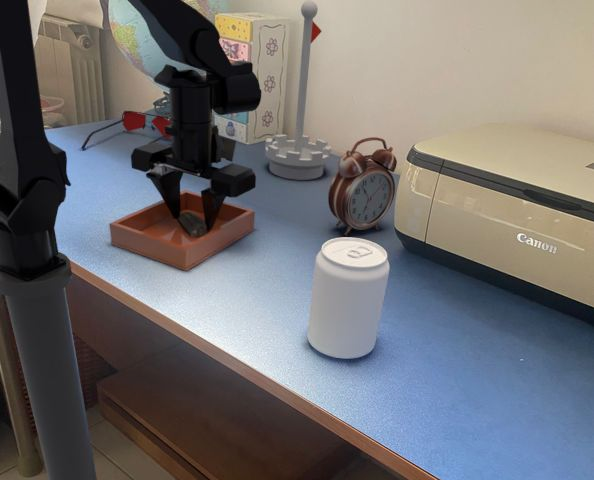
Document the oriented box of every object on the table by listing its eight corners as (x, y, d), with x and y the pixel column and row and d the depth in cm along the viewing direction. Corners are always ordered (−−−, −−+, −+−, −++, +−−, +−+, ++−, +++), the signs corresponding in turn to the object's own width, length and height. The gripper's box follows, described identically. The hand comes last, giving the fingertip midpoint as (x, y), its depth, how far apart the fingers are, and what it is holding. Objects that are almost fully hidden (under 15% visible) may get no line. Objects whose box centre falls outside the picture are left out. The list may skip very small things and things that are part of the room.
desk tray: (186, 271, 81) (185, 249, 79) (111, 244, 86) (109, 223, 84) (254, 230, 94) (254, 210, 92) (185, 208, 99) (185, 189, 97)
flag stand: (307, 186, 112) (324, 6, 95) (251, 170, 117) (258, -4, 100) (339, 170, 122) (360, 3, 104) (286, 155, 127) (297, -6, 109)
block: (194, 220, 94) (194, 209, 93) (213, 234, 90) (213, 223, 89) (174, 224, 92) (173, 213, 91) (193, 239, 88) (193, 228, 87)
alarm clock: (339, 240, 94) (352, 145, 85) (322, 228, 97) (332, 135, 88) (390, 229, 99) (408, 138, 90) (372, 218, 102) (387, 130, 93)
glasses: (180, 140, 129) (180, 117, 126) (142, 161, 116) (140, 135, 113) (124, 130, 132) (122, 107, 129) (81, 149, 119) (77, 124, 116)
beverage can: (292, 339, 70) (301, 247, 63) (338, 317, 75) (350, 229, 68) (343, 371, 65) (358, 276, 58) (388, 346, 70) (407, 255, 63)
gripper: (278, 121, 84) (271, 222, 93) (174, 96, 91) (177, 194, 100) (235, 137, 76) (232, 247, 85) (124, 109, 83) (132, 214, 92)
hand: (193, 223), depth 91 cm, fingers closed on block, 6 cm apart
